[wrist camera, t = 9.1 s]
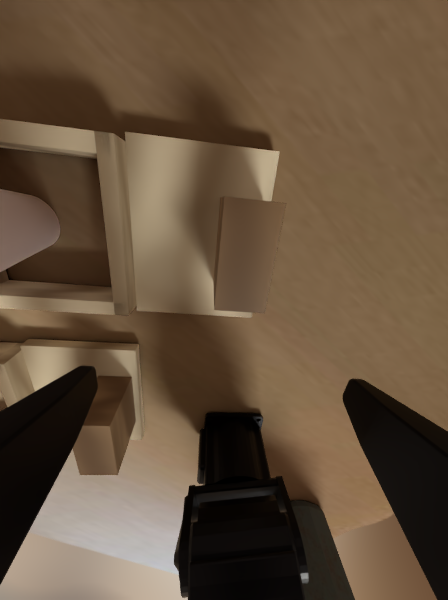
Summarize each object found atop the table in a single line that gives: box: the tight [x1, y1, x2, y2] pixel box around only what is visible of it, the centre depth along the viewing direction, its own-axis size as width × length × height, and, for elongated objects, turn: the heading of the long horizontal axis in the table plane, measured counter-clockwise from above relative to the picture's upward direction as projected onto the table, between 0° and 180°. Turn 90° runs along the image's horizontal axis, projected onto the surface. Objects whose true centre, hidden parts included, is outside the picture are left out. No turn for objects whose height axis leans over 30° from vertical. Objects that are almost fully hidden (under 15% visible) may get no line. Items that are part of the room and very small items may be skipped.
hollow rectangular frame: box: [0, 339, 145, 475], centre depth 19 cm, size 20×12×6 cm, turn 84°
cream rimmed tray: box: [0, 119, 286, 318], centre depth 14 cm, size 20×12×6 cm, turn 84°
